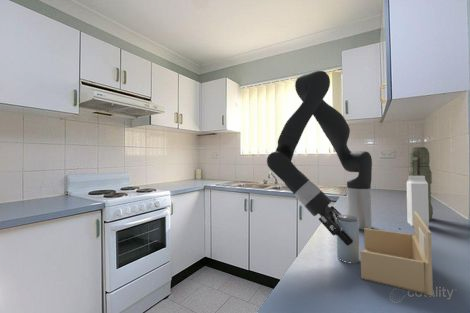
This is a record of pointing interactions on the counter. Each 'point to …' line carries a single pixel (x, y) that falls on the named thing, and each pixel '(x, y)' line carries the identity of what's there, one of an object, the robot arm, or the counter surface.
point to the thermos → (422, 169)
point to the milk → (417, 199)
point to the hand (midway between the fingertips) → (352, 238)
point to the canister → (352, 229)
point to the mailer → (399, 258)
